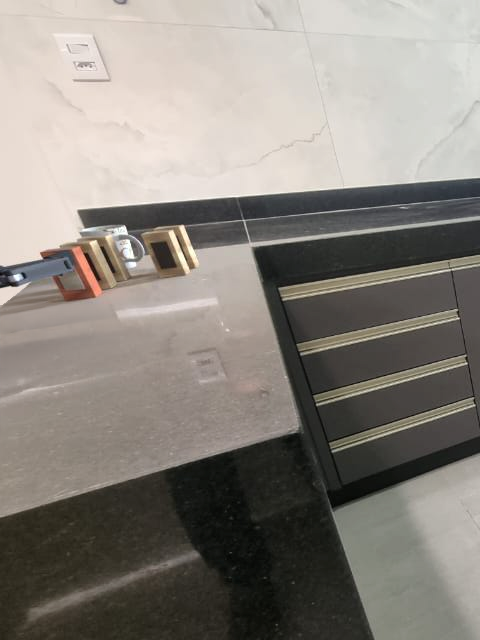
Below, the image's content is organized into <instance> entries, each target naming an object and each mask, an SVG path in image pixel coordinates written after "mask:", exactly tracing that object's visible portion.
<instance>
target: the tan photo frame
mask: <svg viewBox="0 0 480 640" xmlns="http://www.w3.org/2000/svg"><path fill="white" fill-rule="evenodd" d="M77 246H80V248H81V250H82V252H83V254H84V256H85V258H86V260H87V262H88V264H89V266H90V268H91V270H92V272H93V274H94V276H95V278H96V280H97V282H98V284H99V286H100V288H101V290H102V291H103V290H109V289H110V290H111V289H113V288H115V287H116V286H118V282H124V281H127V280H129V279H130V278H132V276H131V274H130V271H129V269H127V267H126V265H125V263H124V261H123V259H122V256H121V254H120V252H119V250H118V248H117V246H116V243H115V241H114V239H113V237H112V235H111V234H109V235H98V236H88V237H82V236H81V237H80V238H77V239H76V241H72V242H66V243H62V244H60V245H59V248H67V247H77Z"/></svg>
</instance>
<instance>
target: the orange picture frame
mask: <svg viewBox="0 0 480 640" xmlns="http://www.w3.org/2000/svg"><path fill="white" fill-rule="evenodd" d="M68 249H69V250H70V252H71V254H72V256H73V258H74V260H75V262H76V264H75V265H73V268H74V271H72V272H67V273H65V276H59V275H56V276H52V279H53V281H54V283H55V284H56V286H57V289H58V290H59V292H60V294H61V296H62V298H63V300H64V301H65V302H70V301H77V300H85V299H93V298H94V299H95V298H97V297H99V296H101V295H102V294H103V293H104V292H103V289H102V290H101V288H100V286H99V284H98V282H97V280H96V278H95V276H94V274H93V272H92V270H91V268H90V266H89V264H88V262H87V260H86V258H85V256H84V254H83V252H82V250H81V248H80V246H77V247H67V248H60V247H57V248H48V249H45V250H42V251H40V252H39V255H40V256H41V258H42V259H44V258H43V257H46V256H49V255H51V254H54V253H57V252H60V251H62V250H68Z"/></svg>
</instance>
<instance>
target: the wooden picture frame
mask: <svg viewBox="0 0 480 640" xmlns="http://www.w3.org/2000/svg"><path fill="white" fill-rule="evenodd" d="M140 236H141V238H142V240H143V243H144V245H145V247H146V249H147V251H148V254H149V256H150V259H151V261H152V264H153V265H154V268H155V270H156V272H157V274H158V277H159V278H160V279H163V278H164V279H165V278H171V277H172V278H173V277H179V276H180V277H181V276H187V275H189V274H190V273H191V270H190V269H197V268H198V267H200V262H199V260H198V258H197V255H196V253H195V251H194V247H193V245H192V243H191V240H190V238H189V236H188V233H187V231H186V228H185V225H184V224H177V225H167V226H158V227H155V228H153V231H146V232H143V233H141V234H140Z"/></svg>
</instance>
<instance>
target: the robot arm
mask: <svg viewBox="0 0 480 640" xmlns="http://www.w3.org/2000/svg"><path fill="white" fill-rule="evenodd" d="M43 258H44V259H43ZM43 258H42V259H36V260H31V261H27V262H26V261H25V262H22V263H17V264H12V265H6V266H3V265H0V289H4V288H8V287H9V288H10V287H11V288H18V287H21V286H24V285H26V284H29V283H32V282H36V281H40V280H45V279H48V278H51V277H52V276H56V275H59V276H65V273H67V272H72V271H74V268H73V265H75V264H76V262H75V260H74V258H73V256H72V254H71V252H70V250H69V249H68V250H62V251H60V252H57V253H54V254H51V255H49V256H46V257H43ZM52 278H53V277H52Z"/></svg>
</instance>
